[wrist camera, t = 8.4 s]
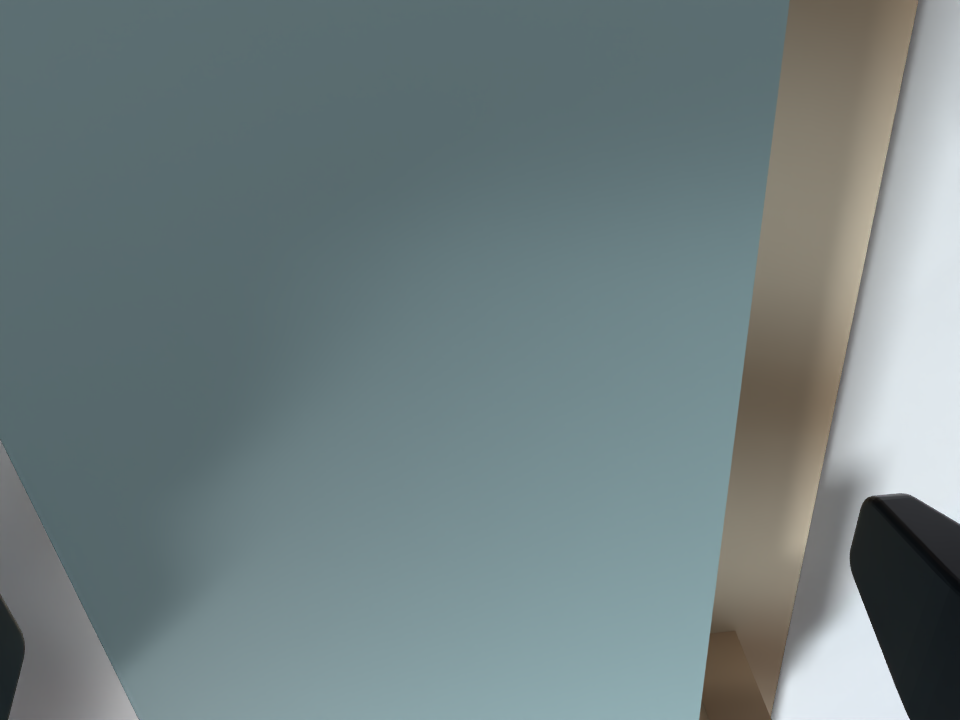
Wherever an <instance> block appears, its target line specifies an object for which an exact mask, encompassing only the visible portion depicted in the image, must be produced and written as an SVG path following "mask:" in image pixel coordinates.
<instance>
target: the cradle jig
mask: <svg viewBox="0 0 960 720" xmlns="http://www.w3.org/2000/svg"><path fill="white" fill-rule="evenodd" d="M917 5H918V0H790V2H789V10H788V17H787V25H786V33H785V41H784V49H783V57H782V65H781V73H780V81H779V89H778V97H777V105H776V113H775V121H774V129H773V137H772V144H771V152H770V160H769V168H768V176H767V184H766V192H765V200H764V208H763V216H762V224H761V232H760V240H759V248H758V256H757V264H756V271H755V279H754V287H753V295H752V303H751V311H750V319H749V327H748V335H747V343H746V351H745V359H744V367H743V375H742V383H741V390H740V398H739V406H738V414H737V422H736V430H735V438H734V446H733V454H732V462H731V470H730V478H729V486H728V494H727V502H726V510H725V517H724V525H723V533H722V541H721V549H720V557H719V565H718V573H717V581H716V589H715V597H714V605H713V613H712V621H711V629H710V637H709V644H708V652H707V660H706V668H705V676H704V684H703V692H702V700H701V708H700V716H699V720H771V713H772V708H773V703H774V698H775V693H776V689H777V684H778V679H779V674H780V669H781V664H782V660H783V655H784V650H785V645H786V640H787V635H788V630H789V626H790V621H791V616H792V611H793V606H794V601H795V597H796V592H797V587H798V582H799V577H800V572H801V567H802V563H803V558H804V553H805V548H806V543H807V538H808V534H809V529H810V524H811V519H812V514H813V509H814V504H815V500H816V495H817V490H818V485H819V480H820V475H821V471H822V466H823V461H824V456H825V451H826V446H827V441H828V437H829V432H830V427H831V422H832V417H833V412H834V407H835V403H836V398H837V393H838V388H839V383H840V378H841V374H842V369H843V364H844V359H845V354H846V349H847V344H848V340H849V335H850V330H851V325H852V320H853V315H854V311H855V306H856V301H857V296H858V291H859V286H860V281H861V277H862V272H863V267H864V262H865V257H866V252H867V248H868V243H869V238H870V233H871V228H872V223H873V218H874V214H875V209H876V204H877V199H878V194H879V189H880V184H881V180H882V175H883V170H884V165H885V160H886V155H887V151H888V146H889V141H890V136H891V131H892V126H893V121H894V117H895V112H896V107H897V102H898V97H899V92H900V88H901V83H902V78H903V73H904V68H905V63H906V58H907V54H908V49H909V44H910V39H911V34H912V29H913V25H914V20H915V15H916V10H917Z"/></svg>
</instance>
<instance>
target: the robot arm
mask: <svg viewBox="0 0 960 720" xmlns="http://www.w3.org/2000/svg"><path fill="white" fill-rule="evenodd" d="M850 566H851V571H852V574H853V577H854V580H855V583H856V585H857V588H858V590H859V593H860V595H861V598H862V601H863V603H864V606H865V608H866V611H867V614H868V616H869V619H870V621H871V624H872V627H873V629H874V632H875V634H876V637H877V640H878V642H879V645H880V647H881V650H882V652H883V655H884V658H885V660H886V663H887V665H888V668H889V671H890V673H891V676H892V678H893V681H894V684H895V686H896V689H897V691H898V693H899V696H900V698H901V701H902V703H903V705H904V708H905V710H906V712H907V715H908V717H909V719H910V720H960V524H959V523H957V522H955V521H954V520H952V519H950V518H949V517H947V516H945V515H944V514H942V513H940V512H939V511H937V510H935V509H934V508H932V507H930V506H929V505H927V504H925V503H924V502H922V501H920V500H919V499H917V498H915V497H913V496H911V495H908V494H903V493H898V494H888V495H877V496H871V497H868V498H867V499H866V500H865V501H864V502H863V504H862V506H861V509H860V513H859V517H858V521H857V525H856V529H855V533H854V537H853V541H852V545H851V549H850ZM24 652H25V644H24V638H23V634H22V632H21V630H20V628H19V626H18V624H17V623H16V621H15V619H14V617H13V616H12V614H11V612H10V610H9V609H8V607H7V605H6V603H5V601H4V600H3V598H2V596H1V594H0V720H8V718H9V714H10V710H11V706H12V702H13V698H14V694H15V691H16V687H17V683H18V679H19V675H20V671H21V667H22V663H23V659H24Z"/></svg>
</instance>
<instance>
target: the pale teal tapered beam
mask: <svg viewBox="0 0 960 720" xmlns="http://www.w3.org/2000/svg"><path fill="white" fill-rule="evenodd" d="M789 2H790V0H0V440H1V442H2V444H3V446H4V448H5V450H6V452H7V454H8V456H9V458H10V460H11V462H12V464H13V466H14V468H15V470H16V472H17V474H18V476H19V478H20V480H21V482H22V484H23V486H24V488H25V490H26V492H27V494H28V496H29V498H30V500H31V502H32V504H33V506H34V508H35V510H36V512H37V514H38V516H39V518H40V521H41V523H42V525H43V527H44V529H45V531H46V533H47V535H48V537H49V539H50V541H51V543H52V545H53V547H54V549H55V551H56V553H57V555H58V557H59V559H60V561H61V563H62V565H63V567H64V569H65V571H66V573H67V575H68V577H69V579H70V581H71V583H72V585H73V587H74V589H75V591H76V593H77V595H78V597H79V599H80V601H81V603H82V605H83V607H84V610H85V612H86V614H87V616H88V618H89V620H90V622H91V624H92V626H93V628H94V630H95V632H96V634H97V636H98V638H99V640H100V642H101V644H102V646H103V648H104V650H105V652H106V654H107V656H108V658H109V660H110V662H111V664H112V666H113V668H114V670H115V672H116V674H117V676H118V678H119V680H120V682H121V684H122V686H123V688H124V690H125V692H126V694H127V696H128V699H129V701H130V703H131V705H132V707H133V709H134V711H135V713H136V715H137V717H138V719H139V720H699V716H700V708H701V700H702V692H703V684H704V676H705V668H706V660H707V652H708V644H709V637H710V629H711V621H712V613H713V605H714V597H715V589H716V581H717V573H718V565H719V557H720V549H721V541H722V533H723V525H724V517H725V510H726V502H727V494H728V486H729V478H730V470H731V462H732V454H733V446H734V438H735V430H736V422H737V414H738V406H739V398H740V390H741V383H742V375H743V367H744V359H745V351H746V343H747V335H748V327H749V319H750V311H751V303H752V295H753V287H754V279H755V271H756V264H757V256H758V248H759V240H760V232H761V224H762V216H763V208H764V200H765V192H766V184H767V176H768V168H769V160H770V152H771V144H772V137H773V129H774V121H775V113H776V105H777V97H778V89H779V81H780V73H781V65H782V57H783V49H784V41H785V33H786V25H787V17H788V10H789Z"/></svg>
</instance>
